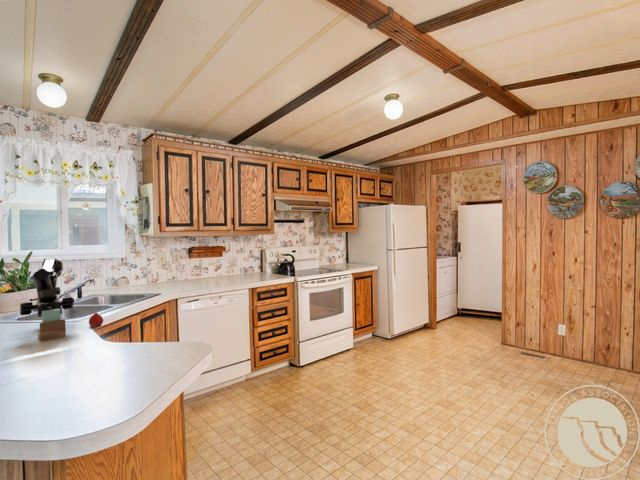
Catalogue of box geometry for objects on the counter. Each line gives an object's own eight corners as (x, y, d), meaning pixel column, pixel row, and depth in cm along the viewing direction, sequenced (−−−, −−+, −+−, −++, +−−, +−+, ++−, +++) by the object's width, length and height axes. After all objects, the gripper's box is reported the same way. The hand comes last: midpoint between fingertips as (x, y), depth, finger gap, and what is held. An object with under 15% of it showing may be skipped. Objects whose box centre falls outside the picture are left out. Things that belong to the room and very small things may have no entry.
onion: (86, 329, 166) (85, 312, 166) (98, 326, 171) (98, 310, 171) (93, 330, 163) (92, 314, 163) (105, 327, 169) (105, 311, 168)
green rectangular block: (42, 338, 149) (41, 311, 148) (60, 335, 153) (58, 308, 153) (44, 340, 147) (42, 312, 146) (61, 336, 151) (60, 309, 150)
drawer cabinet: (36, 337, 154) (35, 317, 154) (59, 333, 160) (59, 314, 160) (40, 344, 144) (39, 323, 144) (66, 339, 151) (65, 319, 150)
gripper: (19, 284, 147) (23, 314, 140) (72, 279, 161) (78, 306, 153) (18, 300, 153) (22, 329, 146) (69, 294, 166) (75, 320, 159)
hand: (50, 321), depth 151 cm, fingers closed, pressing on green rectangular block
